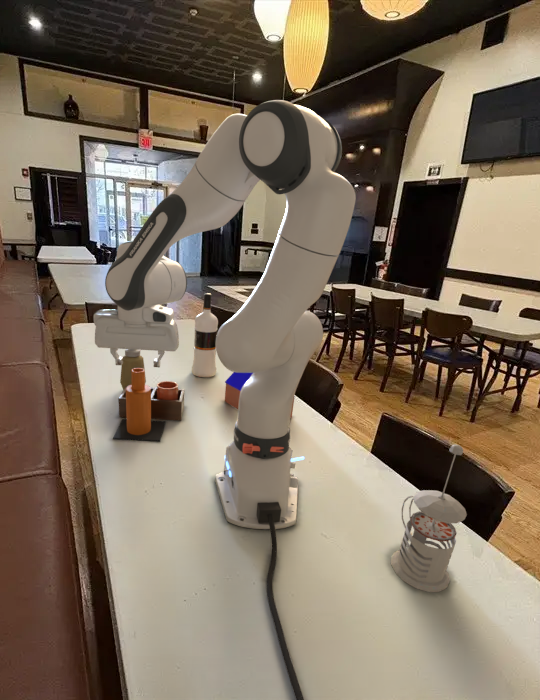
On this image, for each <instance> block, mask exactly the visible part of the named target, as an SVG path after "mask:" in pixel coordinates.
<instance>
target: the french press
mask: <svg viewBox="0 0 540 700" xmlns="http://www.w3.org/2000/svg"><path fill="white" fill-rule="evenodd" d="M449 452H450V453H451V454H453V458H452V460H451V464H450V468H449V471H448V475H447V477H446V481H445V484H444V487H443V490H442V491H439V490H432V489H431V490H430V489H428V490H427V489H426V490H425V489H423V490H420V491H416V493H414V495H409V496H407V497H406V498H405V499H404V500H403V501H402V506H401V520H402V524H403V527H404V529H405V530H404V533H403V536H402V540H401V542H400V543H401V544H400V548H399V549H398V550H395V551H394V552H393V553H392V555H391V557H390V564H391V566H392V569H393V571H394V573H395V574H396V576H398V577H399V578H400V579H401V580H402V581H403V582H404V583H406V584H407V585H410V586H411V587H413V588H415V589H417V590H421V591H423V592H428V593H440V592H442V591H443V590H446V589H447V588H448V587H449V584H450V582H451V579H450V574H449V572H448V570H447V569H448V567H449V563H450V560H451V557H452V554H453V553H454V549H455V547H456V543H457V539H456V536H457V534H458V533H457V529H456V527H455V526H454V524H459V523H460V522H463V521H465V520H466V517H467V515H468V513H467V511H466V508H465V507H464V506H463V505H462V504H461V503H460V502H459V500H457V499H455V498H454V497H452V496H451V495H450V494H448V493H445V491H446V489H447V485H448V482H449V478H450V475H451V472H452V469H453V465H454V462H455V459H456V456H461V455H463V453H464V448H463V447H462V446H461V445H460V444H455V443H454V444H452V445H451V446H450V447H449ZM411 498H412V499H411ZM408 499H411V501H410V504H409V507H408V512H409V514H408V515H409V520H408V521H407V522H406V523H405V520H404V507H405V503H406V502H407V501H408ZM413 503H414V505H415V506H416V507H417V508H418V510H419V511H416V512H413V513H412V514H411V512H412V505H413ZM412 528H413V530H414V531H413V533H412V534H411V532H412ZM427 539H430V540H427ZM434 541H437V542H439V543H440V544H439V543H437V542H434ZM445 542H446V543H445ZM430 545H431V546H430ZM441 545H442V546H443V547H442V546H441ZM447 546H448V547H447Z"/></svg>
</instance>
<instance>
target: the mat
mask: <svg viewBox="0 0 540 700" xmlns="http://www.w3.org/2000/svg"><path fill="white" fill-rule="evenodd" d="M165 426H166V420H156V419H151V430H150V432H148V433H146V434H143V435H133V434H130V433H129V432H128V431H127V418H121V421H120V423H119V426H118V427H117V429H116V431H115V433H114V434H113V437H112V440H116V441H117V440H119V441H139V442H140V441H141V442H142V441H143V442H157V443H158V442H161V439H162V436H163V432H164V429H165Z"/></svg>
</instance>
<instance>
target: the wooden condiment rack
mask: <svg viewBox="0 0 540 700" xmlns="http://www.w3.org/2000/svg"><path fill="white" fill-rule="evenodd" d="M126 387H127V386H125V388H124V390H122V391H121V393H120V395H119V396H118V418H121V419H127V417H126ZM150 388H151V420H158V421H180V422H181V421H182V419H183V414H184V411H185V391H186V390H185V388H178V400H160V399H157V387H153V386H152V387H151V386H150Z"/></svg>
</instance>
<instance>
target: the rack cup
mask: <svg viewBox="0 0 540 700" xmlns="http://www.w3.org/2000/svg"><path fill="white" fill-rule="evenodd" d="M156 388H157V399H160V400H178V389H179V384H178V382H176V381H172V380H164V381H163V380H162V381H159V382H158V383H156Z"/></svg>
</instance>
